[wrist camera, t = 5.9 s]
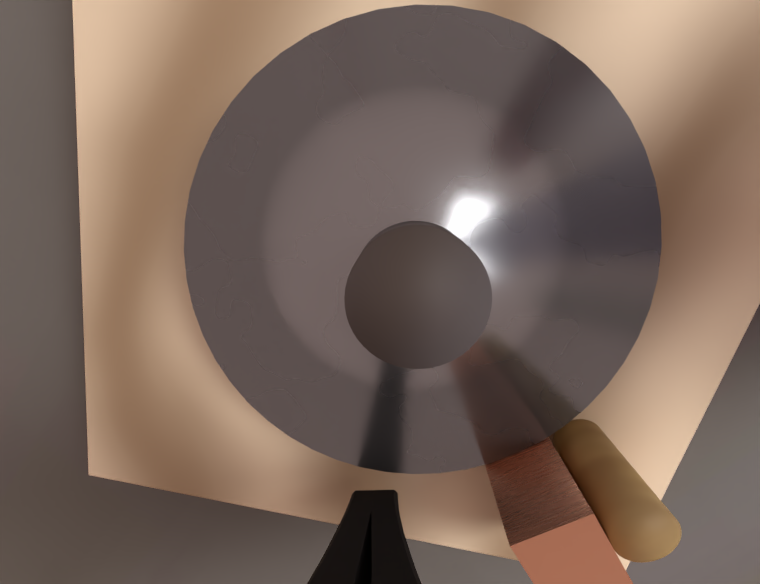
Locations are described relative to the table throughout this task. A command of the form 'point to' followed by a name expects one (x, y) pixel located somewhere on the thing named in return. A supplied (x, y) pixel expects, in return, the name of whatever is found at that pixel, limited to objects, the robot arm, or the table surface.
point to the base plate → (146, 270)
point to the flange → (455, 213)
